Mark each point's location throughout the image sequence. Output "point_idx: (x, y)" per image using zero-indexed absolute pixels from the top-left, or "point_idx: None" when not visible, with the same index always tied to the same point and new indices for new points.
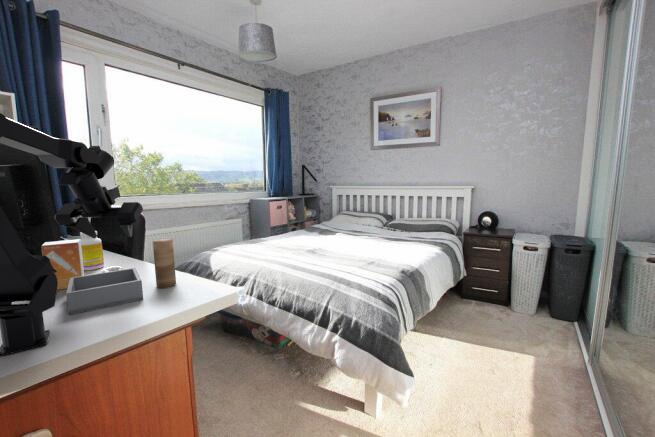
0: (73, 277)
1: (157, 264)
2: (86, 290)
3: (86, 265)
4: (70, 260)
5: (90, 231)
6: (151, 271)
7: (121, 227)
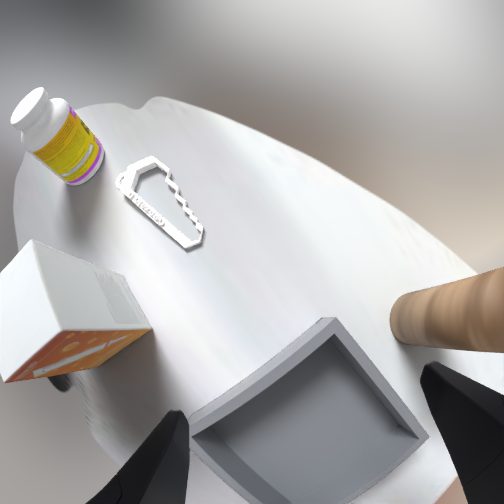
0: None
1: (446, 348)
2: None
3: (73, 179)
4: (89, 345)
5: (177, 483)
6: (276, 179)
7: (467, 496)
